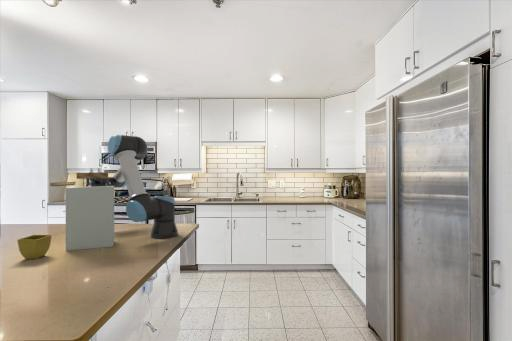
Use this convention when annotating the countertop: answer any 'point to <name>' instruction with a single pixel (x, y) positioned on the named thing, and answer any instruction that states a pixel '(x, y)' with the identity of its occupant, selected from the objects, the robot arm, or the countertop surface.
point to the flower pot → (34, 246)
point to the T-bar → (91, 175)
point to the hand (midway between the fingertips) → (94, 170)
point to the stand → (89, 217)
